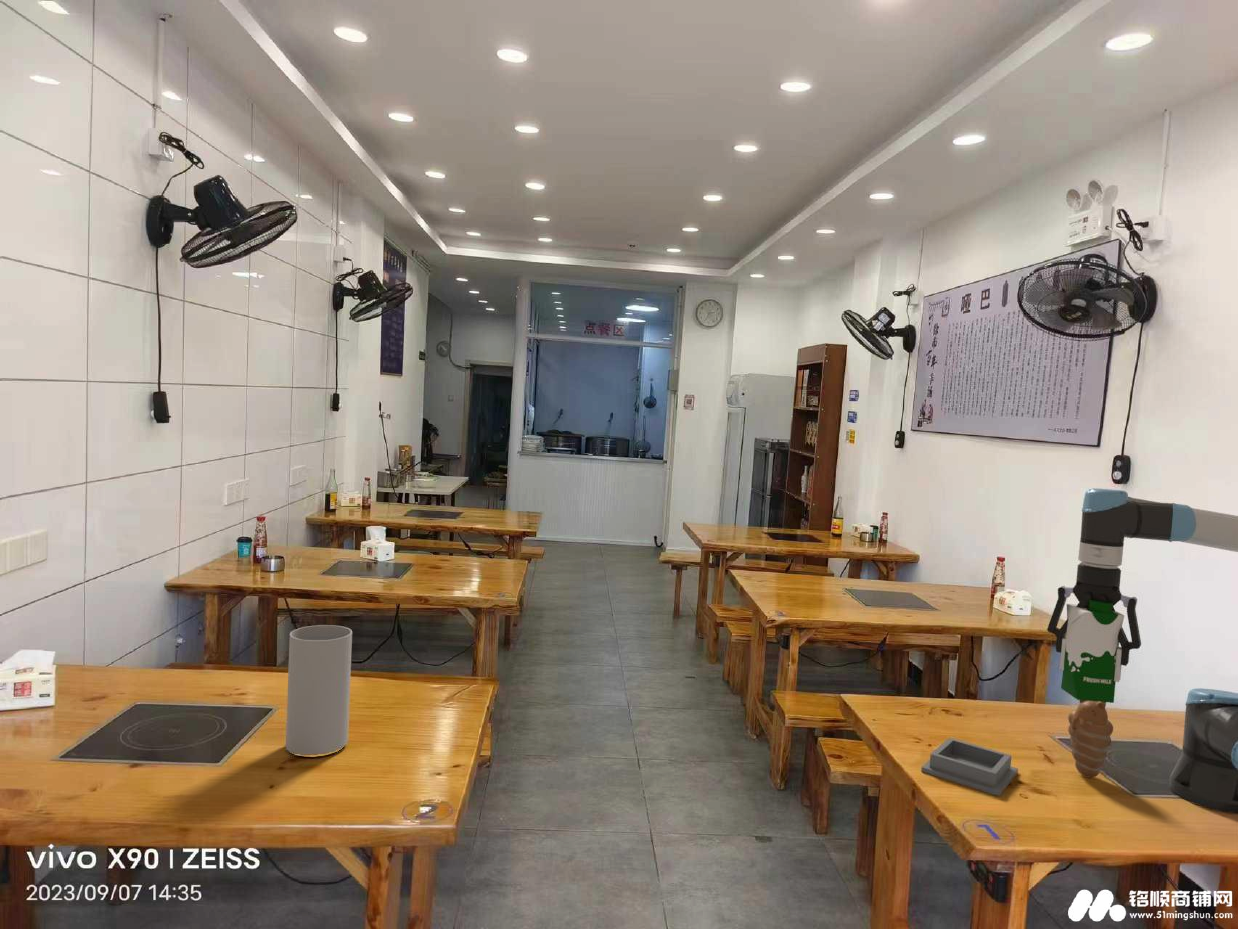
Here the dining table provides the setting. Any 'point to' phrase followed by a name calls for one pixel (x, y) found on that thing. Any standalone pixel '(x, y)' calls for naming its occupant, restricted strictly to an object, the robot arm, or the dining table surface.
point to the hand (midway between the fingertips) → (1089, 674)
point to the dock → (971, 766)
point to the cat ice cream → (1089, 736)
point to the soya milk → (1091, 651)
